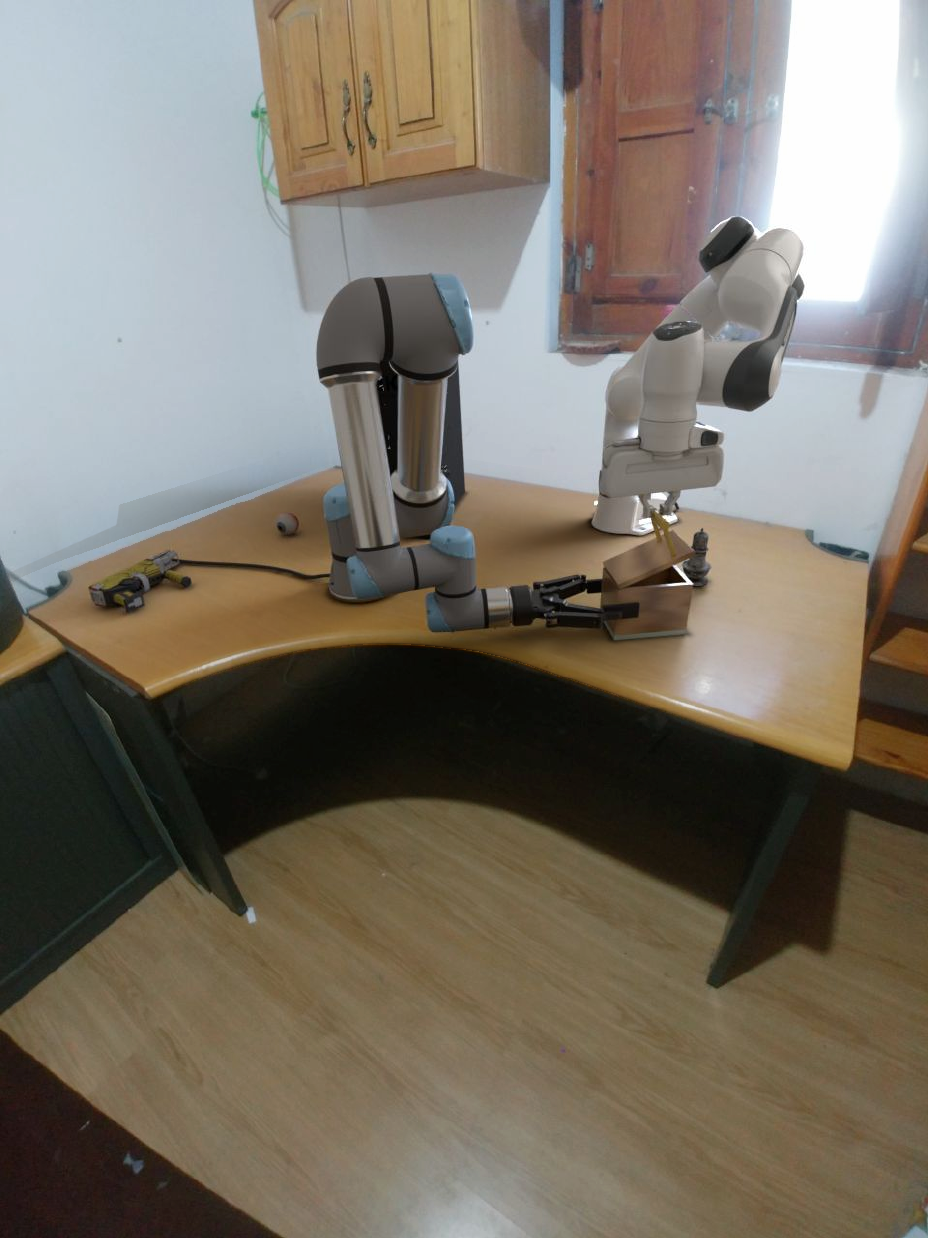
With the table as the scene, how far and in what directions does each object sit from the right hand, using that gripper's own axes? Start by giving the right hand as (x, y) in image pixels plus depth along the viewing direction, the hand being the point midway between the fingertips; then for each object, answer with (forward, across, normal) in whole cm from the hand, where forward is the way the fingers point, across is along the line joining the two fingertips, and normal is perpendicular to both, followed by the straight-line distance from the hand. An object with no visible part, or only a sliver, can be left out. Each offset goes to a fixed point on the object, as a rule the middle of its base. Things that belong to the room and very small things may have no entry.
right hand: (656, 515), depth 104 cm
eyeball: (+21, -73, +67) cm, 102 cm away
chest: (+22, -1, 0) cm, 22 cm away
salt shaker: (+22, +17, +14) cm, 31 cm away
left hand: (+15, -4, 0) cm, 16 cm away
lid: (+9, -1, 0) cm, 9 cm away
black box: (+22, -38, +74) cm, 86 cm away
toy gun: (+21, -101, +41) cm, 111 cm away
